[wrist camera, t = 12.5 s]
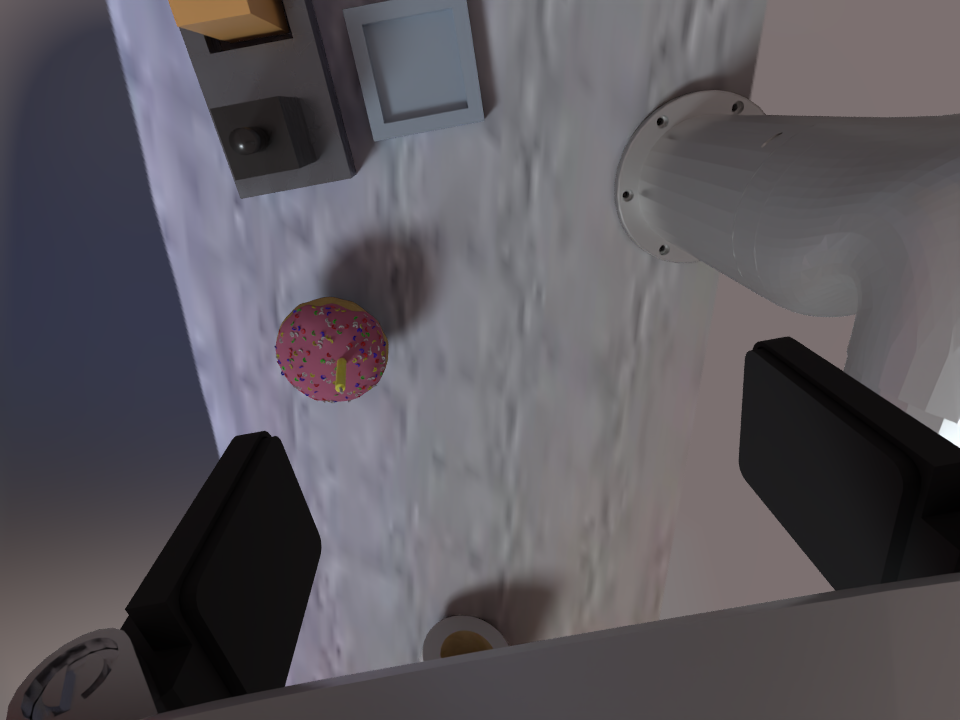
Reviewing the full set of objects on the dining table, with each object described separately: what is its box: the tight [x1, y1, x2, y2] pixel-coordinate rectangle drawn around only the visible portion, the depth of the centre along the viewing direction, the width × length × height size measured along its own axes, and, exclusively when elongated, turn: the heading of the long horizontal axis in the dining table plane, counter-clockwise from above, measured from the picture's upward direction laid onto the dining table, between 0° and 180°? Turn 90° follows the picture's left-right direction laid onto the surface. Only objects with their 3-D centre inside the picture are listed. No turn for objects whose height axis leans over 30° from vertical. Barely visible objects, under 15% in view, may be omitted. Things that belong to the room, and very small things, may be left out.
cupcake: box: [274, 297, 388, 403], centre depth 39 cm, size 9×8×12 cm
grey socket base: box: [179, 0, 356, 199], centre depth 31 cm, size 16×8×10 cm, turn 10°
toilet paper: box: [419, 615, 509, 662], centre depth 58 cm, size 10×10×10 cm
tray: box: [342, 0, 485, 142], centre depth 36 cm, size 8×8×1 cm
